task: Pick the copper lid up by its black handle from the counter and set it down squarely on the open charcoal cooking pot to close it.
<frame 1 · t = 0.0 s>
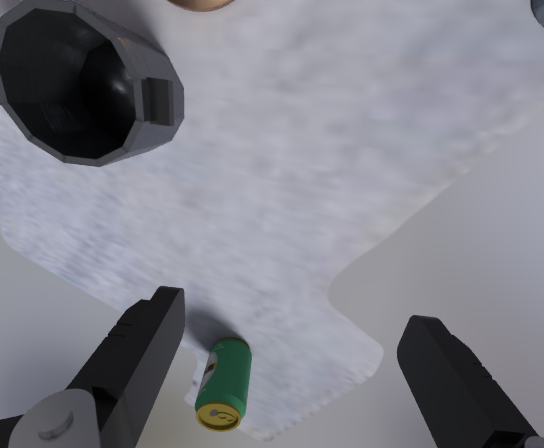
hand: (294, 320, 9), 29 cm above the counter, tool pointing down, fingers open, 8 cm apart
cooking pot: (132, 96, 33), on the counter
beverage can: (231, 350, 51), on the counter
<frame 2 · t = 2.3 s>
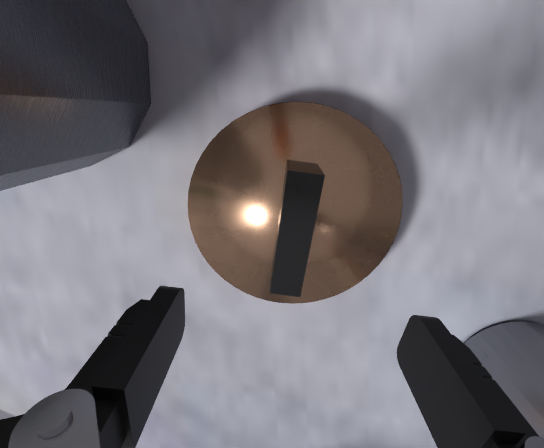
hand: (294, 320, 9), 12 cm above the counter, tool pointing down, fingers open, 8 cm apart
cooking pot: (48, 61, 17), on the counter
lid: (292, 209, 20), on the counter
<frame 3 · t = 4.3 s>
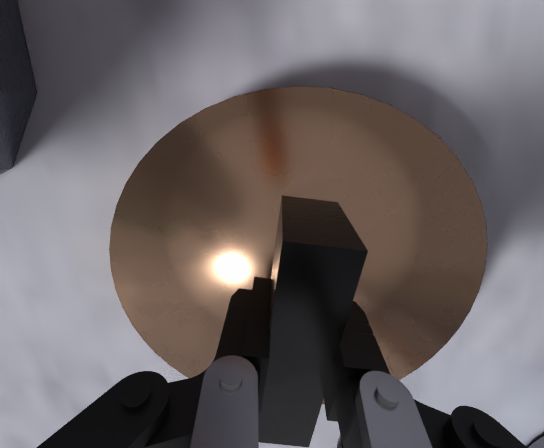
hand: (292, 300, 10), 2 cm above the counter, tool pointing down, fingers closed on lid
lid: (291, 266, 13), on the counter, touching gripper
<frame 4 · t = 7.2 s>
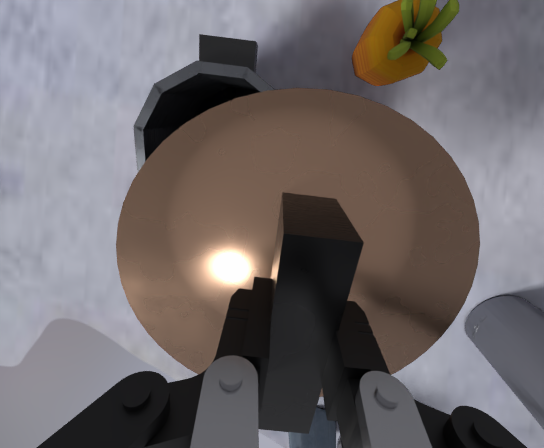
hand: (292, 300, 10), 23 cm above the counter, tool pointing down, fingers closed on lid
cooking pot: (241, 144, 30), on the counter
lid: (291, 261, 13), point 20 cm above the counter, touching gripper
moka pot: (313, 419, 49), on the counter
carrot: (361, 66, 27), on the counter
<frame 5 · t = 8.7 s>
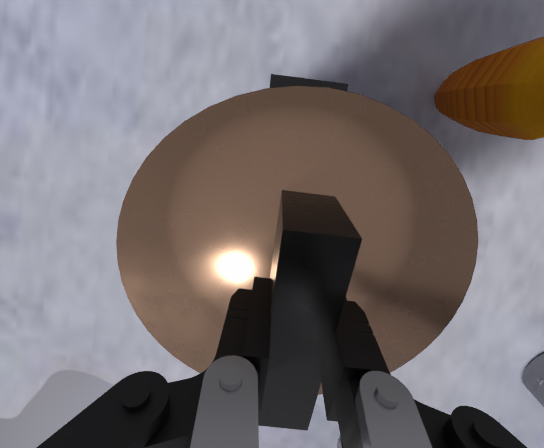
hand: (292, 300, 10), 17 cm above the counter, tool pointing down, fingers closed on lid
cooking pot: (284, 185, 26), on the counter
lid: (290, 259, 13), point 14 cm above the counter, touching gripper
carrot: (437, 96, 22), on the counter
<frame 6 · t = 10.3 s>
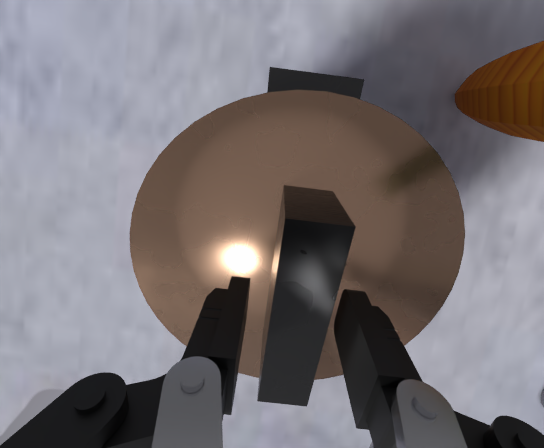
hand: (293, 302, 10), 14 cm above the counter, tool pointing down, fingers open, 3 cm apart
cooking pot: (285, 194, 23), on the counter
lid: (291, 251, 14), point 10 cm above the counter, touching cooking pot
carrot: (457, 95, 20), on the counter
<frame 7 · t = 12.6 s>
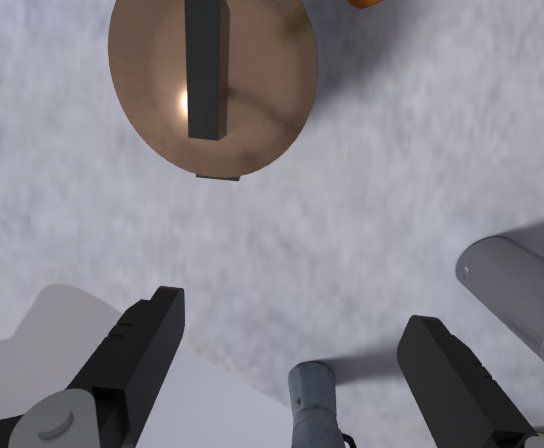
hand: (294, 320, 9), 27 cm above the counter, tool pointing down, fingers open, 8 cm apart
lid: (218, 78, 21), point 10 cm above the counter, touching cooking pot
moka pot: (312, 375, 51), on the counter
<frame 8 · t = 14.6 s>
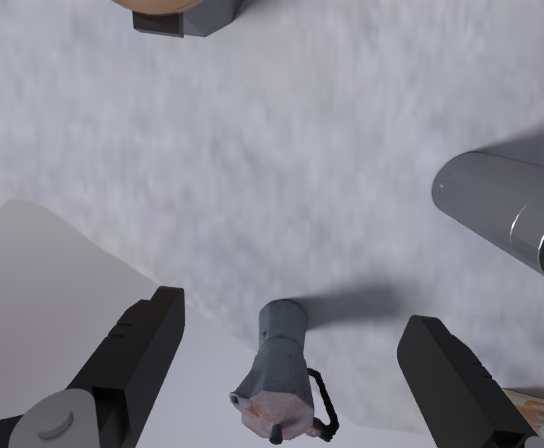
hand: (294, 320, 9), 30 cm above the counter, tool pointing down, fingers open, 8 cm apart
coffeecake box: (520, 404, 56), on the counter
moka pot: (284, 317, 48), on the counter
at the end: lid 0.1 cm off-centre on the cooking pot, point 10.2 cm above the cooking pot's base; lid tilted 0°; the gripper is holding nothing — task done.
